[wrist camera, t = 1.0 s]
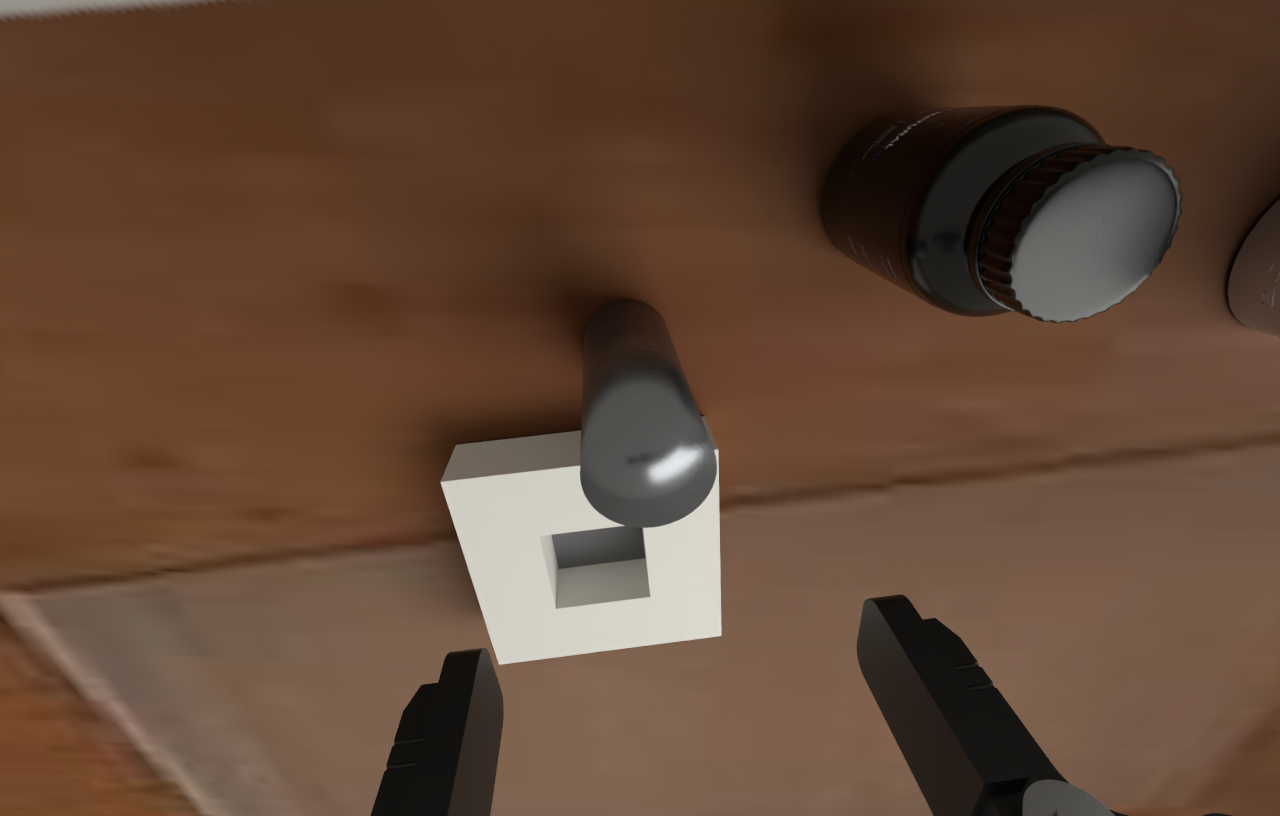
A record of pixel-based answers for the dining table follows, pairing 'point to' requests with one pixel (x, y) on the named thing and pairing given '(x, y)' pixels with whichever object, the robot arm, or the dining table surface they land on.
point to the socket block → (575, 555)
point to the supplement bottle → (1001, 210)
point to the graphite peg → (640, 422)
